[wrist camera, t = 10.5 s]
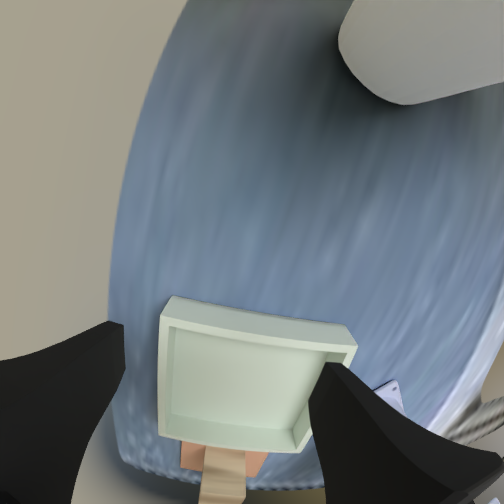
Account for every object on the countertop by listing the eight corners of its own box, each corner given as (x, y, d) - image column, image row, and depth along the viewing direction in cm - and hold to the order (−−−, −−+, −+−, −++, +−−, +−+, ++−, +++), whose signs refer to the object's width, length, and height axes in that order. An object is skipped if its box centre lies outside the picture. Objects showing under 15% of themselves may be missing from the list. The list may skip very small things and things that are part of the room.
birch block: (239, 466, 23) (238, 508, 17) (203, 461, 23) (198, 503, 17) (245, 449, 22) (245, 496, 16) (206, 444, 22) (200, 491, 16)
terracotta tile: (255, 474, 24) (255, 477, 24) (180, 464, 24) (180, 467, 23) (274, 437, 22) (274, 441, 22) (183, 425, 21) (182, 429, 21)
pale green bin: (295, 430, 22) (300, 452, 19) (165, 412, 21) (158, 435, 18) (344, 324, 19) (358, 346, 16) (172, 295, 18) (160, 314, 15)
